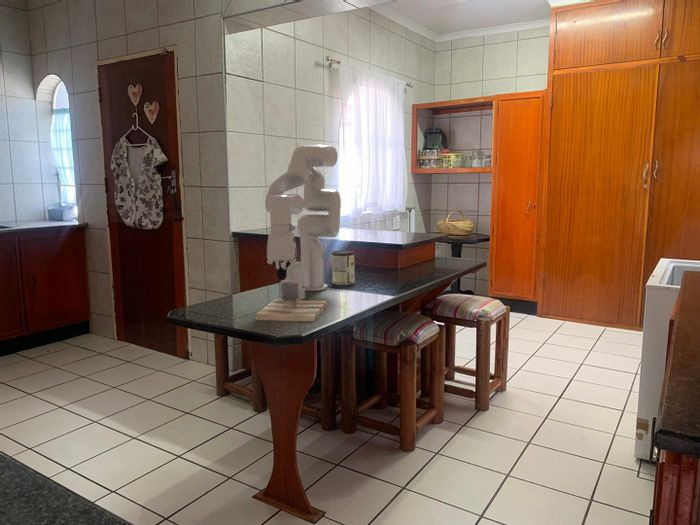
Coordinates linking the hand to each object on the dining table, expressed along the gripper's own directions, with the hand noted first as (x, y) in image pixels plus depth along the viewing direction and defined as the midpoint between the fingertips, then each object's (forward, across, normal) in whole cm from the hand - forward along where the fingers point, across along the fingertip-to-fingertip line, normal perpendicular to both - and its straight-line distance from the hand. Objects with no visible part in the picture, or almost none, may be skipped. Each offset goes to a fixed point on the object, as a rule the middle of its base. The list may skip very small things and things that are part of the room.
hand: (282, 279), depth 197 cm
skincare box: (+10, -1, -13) cm, 17 cm away
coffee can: (+10, -15, -49) cm, 52 cm away
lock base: (+11, -5, +7) cm, 13 cm away
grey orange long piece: (+5, -5, +3) cm, 7 cm away
